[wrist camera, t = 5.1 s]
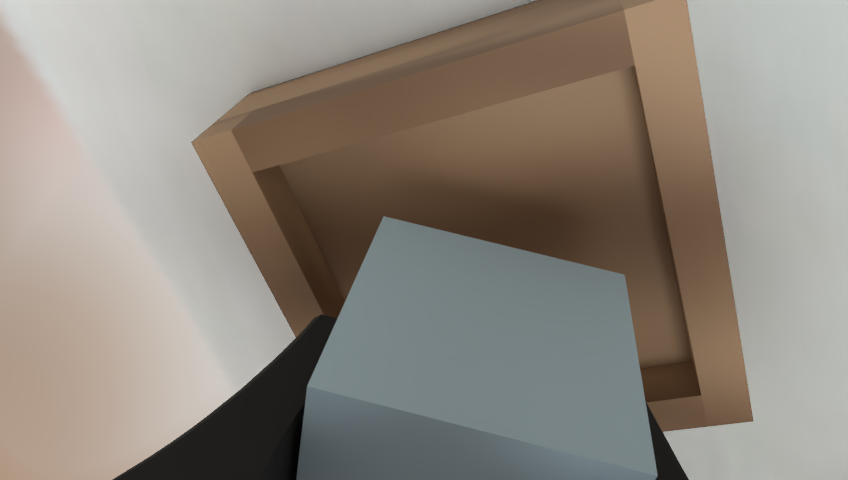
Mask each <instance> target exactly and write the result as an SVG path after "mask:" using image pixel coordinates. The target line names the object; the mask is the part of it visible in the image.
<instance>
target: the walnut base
mask: <svg viewBox="0 0 848 480" xmlns="http://www.w3.org/2000/svg"><path fill="white" fill-rule="evenodd" d="M191 143H192V145H193V146H194V148H195V150H196V152H197V154H198V156H199V158H200V160H201V161H202V163H203V165H204V167H205V169H206V171H207V173H208V174H209V176H210V178H211V180H212V182H213V184H214V186H215V187H216V189H217V191H218V193H219V195H220V197H221V199H222V200H223V202H224V204H225V206H226V208H227V210H228V212H229V214H230V215H231V217H232V219H233V221H234V223H235V225H236V227H237V228H238V230H239V232H240V234H241V236H242V238H243V240H244V241H245V243H246V245H247V247H248V249H249V251H250V253H251V254H252V256H253V258H254V260H255V262H256V264H257V266H258V267H259V269H260V271H261V273H262V275H263V277H264V279H265V281H266V282H267V284H268V286H269V288H270V290H271V292H272V294H273V295H274V297H275V299H276V301H277V303H278V305H279V307H280V308H281V310H282V312H283V314H284V316H285V318H286V320H287V321H288V323H289V325H290V327H291V329H292V331H293V333H294V335H295V336H296V337H297V336H298V335H299V334H300V333H301V332H302V331H303V330H304V329H305V328H306V327H307V326H308V325H309V323H310V322H311V321H312V320H313V319H314V318H315V317H317V316H319V315H321V314H322V315H326V316H330V317H334V318H338V316H339V314H340V312H341V310H342V307H343V305H344V303H345V301H346V299H347V296H348V294H349V292H350V290H351V287H352V285H353V283H354V281H355V279H356V276H357V274H358V272H359V270H360V267H361V265H362V263H363V261H364V259H365V256H366V254H367V252H368V250H369V248H370V245H371V243H372V241H373V239H374V236H375V234H376V232H377V230H378V228H379V225H380V223H381V221H382V219H383V216H385V217H389V218H393V219H397V220H401V221H405V222H410V223H414V224H418V225H422V226H426V227H430V228H434V229H438V230H443V231H447V232H451V233H455V234H459V235H463V236H467V237H471V238H476V239H480V240H484V241H488V242H492V243H496V244H500V245H504V246H509V247H513V248H517V249H521V250H525V251H529V252H533V253H537V254H542V255H546V256H550V257H554V258H558V259H562V260H566V261H570V262H575V263H579V264H583V265H587V266H591V267H595V268H599V269H603V270H608V271H612V272H616V273H620V274H624V275H625V280H626V286H627V292H628V298H629V304H630V310H631V316H632V322H633V328H634V334H635V341H636V347H637V353H638V359H639V365H640V371H641V377H642V383H643V389H644V395H645V401H646V402H647V404H648V406H649V408H650V410H651V412H652V413H653V415H654V417H655V419H656V421H657V423H658V425H659V427H660V428H661V430H662V432H663V431H672V430H681V429H689V428H698V427H707V426H716V425H724V424H733V423H742V422H750V421H753V416H752V410H751V403H750V397H749V391H748V385H747V378H746V372H745V366H744V359H743V353H742V347H741V340H740V334H739V328H738V321H737V315H736V309H735V302H734V296H733V290H732V284H731V277H730V271H729V265H728V258H727V252H726V246H725V239H724V233H723V227H722V220H721V214H720V208H719V201H718V195H717V189H716V183H715V176H714V170H713V164H712V157H711V151H710V145H709V138H708V132H707V126H706V119H705V113H704V107H703V100H702V94H701V88H700V82H699V75H698V69H697V63H696V56H695V50H694V44H693V37H692V31H691V25H690V18H689V12H688V6H687V0H538V1H535V2H532V3H529V4H526V5H523V6H520V7H517V8H513V9H510V10H507V11H504V12H501V13H498V14H495V15H492V16H489V17H486V18H483V19H479V20H476V21H473V22H470V23H467V24H464V25H461V26H458V27H455V28H452V29H448V30H445V31H442V32H439V33H436V34H433V35H430V36H427V37H424V38H421V39H417V40H414V41H411V42H408V43H405V44H402V45H399V46H396V47H393V48H390V49H387V50H383V51H380V52H377V53H374V54H371V55H368V56H365V57H362V58H359V59H356V60H352V61H349V62H346V63H343V64H340V65H337V66H334V67H331V68H328V69H325V70H321V71H318V72H315V73H312V74H309V75H306V76H303V77H300V78H297V79H294V80H290V81H287V82H284V83H281V84H278V85H275V86H272V87H269V88H266V89H263V90H260V91H256V92H253V93H250V94H249V95H247V96H246V97H245V98H244V99H243V100H241V101H240V102H239V103H238V104H237V105H235V106H234V107H233V108H232V109H231V110H229V111H228V112H227V113H226V114H225V115H223V116H222V117H221V118H220V119H219V120H217V121H216V122H215V123H214V124H213V125H211V126H210V127H209V128H208V129H207V130H206V131H204V132H203V133H202V134H201V135H200V136H198V137H197V138H196V139H195V140H194V141H192V142H191Z"/></svg>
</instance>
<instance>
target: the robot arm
mask: <svg viewBox="0 0 848 480" xmlns="http://www.w3.org/2000/svg"><path fill="white" fill-rule="evenodd" d="M337 319H338V318H334V317H330V316H326V315H322V314H321V315H319V316H317V317H315V318H314V319H313V320H312V321H311V322H310V323H309V325H308V326H307V327H306V328H305V329H304V330H303V331H302V332H301V333H300V334H299V335H298V336H297V337H296V338H295V339H294V341H293V342H292V343H291V344H290V345H289V346H288V347H287V348H286V349H284V350H283V351H282V352H281V353H280V354H279V355H278V356H277V357H276V358H275V359H274V360H273V361H272V362H271V363H270V364H269V365H268V366H266V367H265V368H264V369H263V370H262V371H261V372H260V373H259V374H258V375H256V376H255V377H254V378H253V379H252V380H251V381H250V382H249V383H248V384H246V385H245V386H244V387H243V388H242V389H241V390H239V391H238V392H237V393H236V394H235V395H233V396H232V397H231V398H229V399H228V400H227V401H226V402H224V403H223V404H222V405H221V406H220V407H218V408H217V409H216V410H214V411H213V412H212V413H211V414H210V415H208V416H207V417H206V418H204V419H203V420H202V421H201V422H199V423H198V424H196V425H195V426H194V427H192V428H191V429H190V430H188V431H187V432H185V433H184V434H183V435H181V436H180V437H178V438H177V439H176V440H174V441H173V442H171V443H170V444H168V445H167V446H165V447H164V448H162V449H161V450H159V451H158V452H156V453H155V454H153V455H152V456H150V457H149V458H147V459H145V460H144V461H142V462H140V463H139V464H137V465H136V466H134V467H132V468H131V469H129V470H127V471H126V472H124V473H123V474H121V475H119V476H118V477H116V478H115V479H113V480H296V477H297V468H298V460H299V451H300V443H301V434H302V425H303V417H304V408H305V400H306V391H307V385H308V383H309V381H310V379H311V376H312V374H313V372H314V370H315V367H316V365H317V363H318V361H319V359H320V356H321V354H322V352H323V350H324V347H325V345H326V343H327V341H328V339H329V336H330V334H331V332H332V330H333V327H334V325H335V323H336V321H337ZM645 402H646V401H645ZM646 408H647V414H648V420H649V426H650V432H651V438H652V444H653V450H654V456H655V462H656V469H657V475H658V476H657V478H656V480H689V479H688V478H687V476H686V474H685V472H684V471H683V469H682V467H681V465H680V463H679V462H678V460H677V458H676V456H675V454H674V452H673V451H672V449H671V447H670V445H669V443H668V441H667V440H666V438H665V436H664V434H663V432H662V430H661V428H660V427H659V425H658V423H657V421H656V419H655V417H654V415H653V413H652V412H651V410H650V408H649V406H648V404H647V402H646Z"/></svg>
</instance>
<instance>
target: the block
mask: <svg viewBox="0 0 848 480" xmlns="http://www.w3.org/2000/svg"><path fill="white" fill-rule="evenodd" d="M657 476H658V475H657V469H656V462H655V456H654V450H653V444H652V438H651V432H650V426H649V420H648V414H647V408H646V402H645V395H644V389H643V383H642V377H641V371H640V365H639V359H638V353H637V347H636V341H635V334H634V328H633V322H632V316H631V310H630V304H629V298H628V292H627V286H626V280H625V275H624V274H620V273H616V272H612V271H608V270H603V269H599V268H595V267H591V266H587V265H583V264H579V263H575V262H570V261H566V260H562V259H558V258H554V257H550V256H546V255H542V254H537V253H533V252H529V251H525V250H521V249H517V248H513V247H509V246H504V245H500V244H496V243H492V242H488V241H484V240H480V239H476V238H471V237H467V236H463V235H459V234H455V233H451V232H447V231H443V230H438V229H434V228H430V227H426V226H422V225H418V224H414V223H410V222H405V221H401V220H397V219H393V218H389V217H385V216H383V219H382V221H381V223H380V225H379V228H378V230H377V232H376V234H375V236H374V239H373V241H372V243H371V245H370V248H369V250H368V252H367V254H366V256H365V259H364V261H363V263H362V265H361V267H360V270H359V272H358V274H357V276H356V279H355V281H354V283H353V285H352V287H351V290H350V292H349V294H348V296H347V299H346V301H345V303H344V305H343V307H342V310H341V312H340V314H339V316H338V319H337V321H336V323H335V325H334V327H333V330H332V332H331V334H330V336H329V339H328V341H327V343H326V345H325V347H324V350H323V352H322V354H321V356H320V359H319V361H318V363H317V365H316V367H315V370H314V372H313V374H312V376H311V379H310V381H309V383H308V385H307V391H306V400H305V408H304V417H303V425H302V434H301V443H300V451H299V460H298V468H297V477H296V480H656V478H657Z"/></svg>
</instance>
